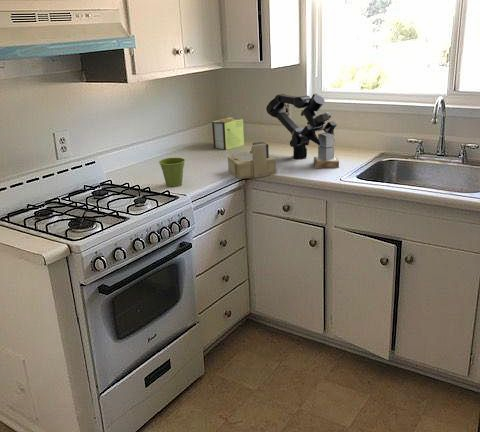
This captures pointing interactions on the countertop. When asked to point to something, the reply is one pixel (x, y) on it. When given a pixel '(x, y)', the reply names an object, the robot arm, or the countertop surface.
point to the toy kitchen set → (253, 164)
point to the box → (266, 148)
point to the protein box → (228, 133)
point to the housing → (326, 146)
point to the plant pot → (172, 170)
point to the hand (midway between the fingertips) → (326, 143)
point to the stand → (326, 163)
